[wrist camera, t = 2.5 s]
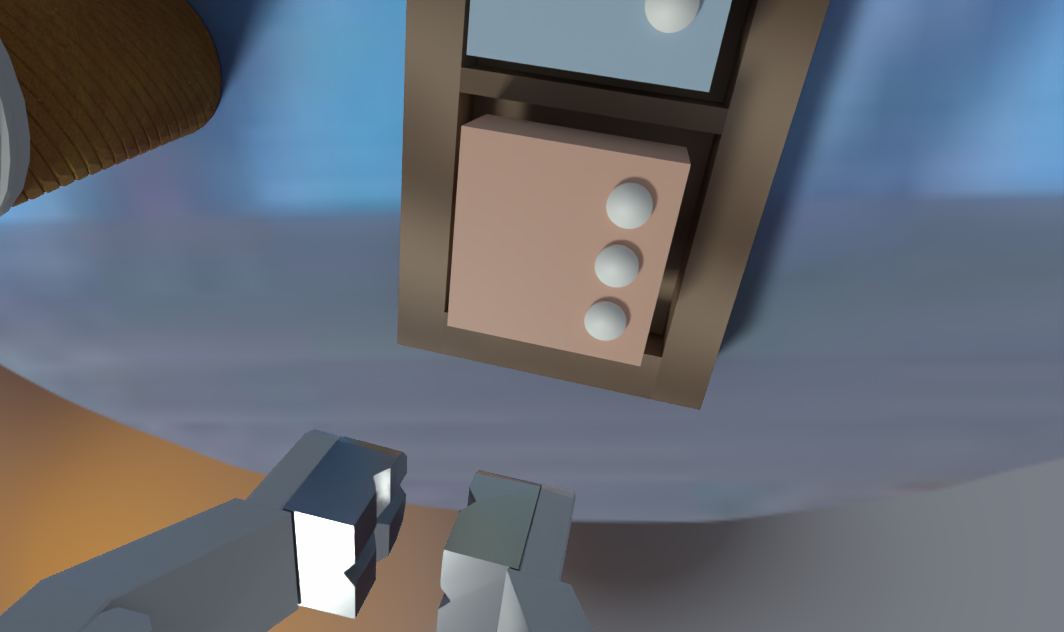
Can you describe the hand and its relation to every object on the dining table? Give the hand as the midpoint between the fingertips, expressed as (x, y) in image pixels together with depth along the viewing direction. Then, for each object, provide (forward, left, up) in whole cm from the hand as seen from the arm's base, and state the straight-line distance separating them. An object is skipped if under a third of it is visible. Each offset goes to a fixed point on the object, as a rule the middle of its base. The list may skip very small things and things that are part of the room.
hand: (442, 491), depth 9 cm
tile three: (0, 0, -14) cm, 14 cm away
